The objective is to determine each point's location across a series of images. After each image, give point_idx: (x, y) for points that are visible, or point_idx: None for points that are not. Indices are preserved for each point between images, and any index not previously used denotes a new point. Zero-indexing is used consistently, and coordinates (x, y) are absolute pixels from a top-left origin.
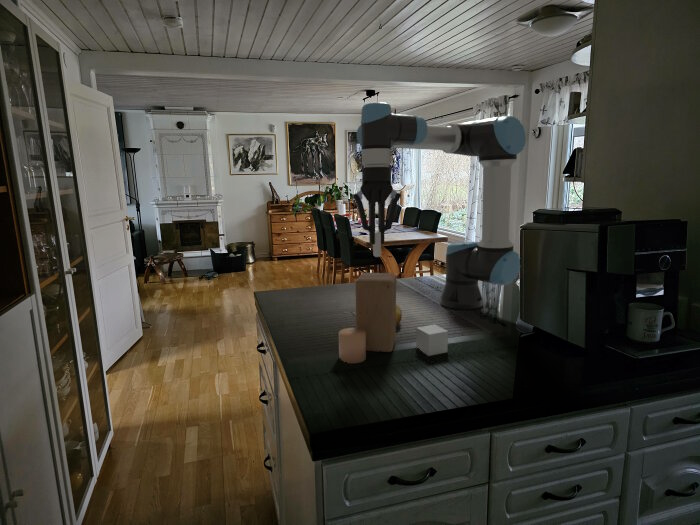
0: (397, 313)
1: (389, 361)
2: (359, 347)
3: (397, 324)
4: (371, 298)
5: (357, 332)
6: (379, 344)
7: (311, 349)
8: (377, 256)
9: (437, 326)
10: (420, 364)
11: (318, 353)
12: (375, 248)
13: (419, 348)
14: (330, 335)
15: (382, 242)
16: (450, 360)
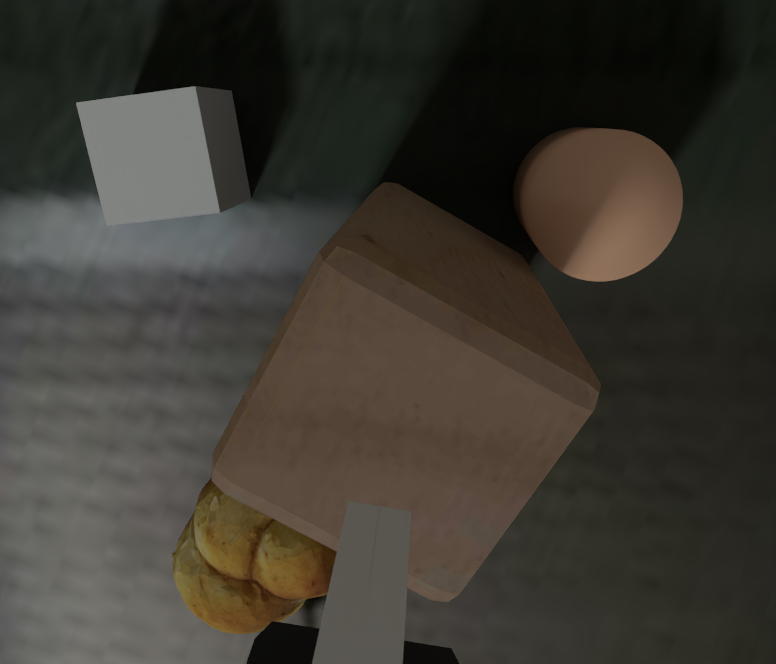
0: (217, 496)
1: (430, 91)
2: (580, 130)
3: None
4: (484, 283)
5: (577, 196)
6: (435, 208)
7: (715, 348)
8: (387, 510)
9: (103, 191)
10: (307, 8)
11: (703, 293)
12: (406, 574)
13: (243, 171)
14: (570, 476)
15: (285, 637)
16: (155, 4)
